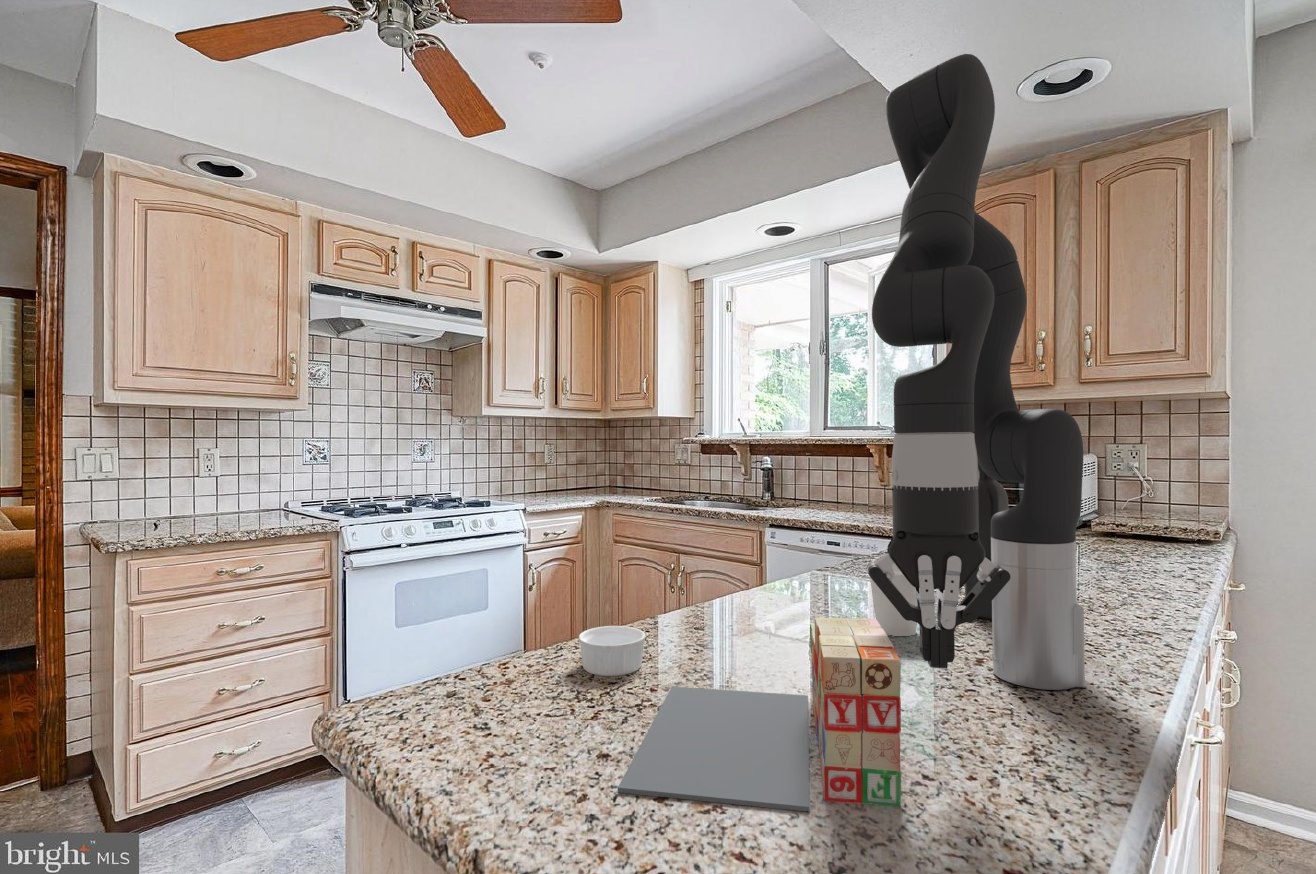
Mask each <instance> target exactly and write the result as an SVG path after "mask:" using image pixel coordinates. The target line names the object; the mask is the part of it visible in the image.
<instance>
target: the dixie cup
mask: <svg viewBox="0 0 1316 874" xmlns="http://www.w3.org/2000/svg"><path fill="white" fill-rule="evenodd" d="M892 569H893V571H894V573H895V577H894V579H893V580H892V581H891V582H892V583H893V584H894V585H895V586H896V588H897V589H898V590H899V591H900V593H901V594H902V595H903V596H904V598H905V599H906V600H907V601H908V602H909V604H912V605H915V606H917V601H916V595H915V587H914V586H912V585H911V584H910V583H909V582H908V580H907V579H906V578H905V576H904V575H903V574H902V572H901V571H900V570H899V569H898V567H897V566H896V565H895V563H894V564H893V566H892ZM869 580H870V587H871V596H872V603H873V609H874V610H873V612H874V619H877V621H878V622H879V624H880V626H881V628H883V630H884V631H885V633H886V634H887V636H888V635H893V636H892V637H894V636H910V637H912V636H911V635H914V636H915V635H916V634H917V628H918V627H917V626H918V623H916V622H914V621H907V620H905V619H904V618H903V617H902V616H901V614H900V613H899V612H898V611H897V609H896V608H895V607H894V606H893V604H892V603H891V602H890V601H889V600H888V598H887V597H886V596H885V595H884V593H883V592H882V591H881V590H880V588H879V587H878V586H877V585H876V583H875V582H874V581H873V580H872V579H871V577H870V576H869Z"/></svg>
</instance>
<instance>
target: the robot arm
mask: <svg viewBox="0 0 1316 874" xmlns="http://www.w3.org/2000/svg"><path fill="white" fill-rule="evenodd" d="M995 103H996V102H995V94H994V90H993V85H992V82H991V80H990V76H989V74H988V72H987V70H986V67H985V66H984V64H983V63H982V61H981V60H980V59H979V58H978V57H977V56H975V55H974V54H971V53H963V54H959V55H956V56H955V57H951V58H949V59H947V60H945V61H943V62H941V63H939V64H937V65H935V66H933V67H931V68H930V69H928V70H925V71H923V72H922V73H919V74H918V75H916V76H914V77H912V78H911V79H909V80H906V81H904V82H903V83H901V84H899V85H898V86H896V87H894V88H893V89H892V90H891V91H890V92H889V93H888V95H887V97H886V101H885V112H886V120H887V124H888V125H887V126H888V129H889V132H890V135H891V140H892V142H893V145H894V148H895V151H896V154H897V158H898V159H899V163H900V166H901V168H902V171H903V174H904V176H905V179H906V183H907V186H908V188H909V191H908V193H907V194H906V197H905V199H904V200H905V201H904V203H903V208H902V212H901V219H900V229H899V239H898V245H897V248H896V249H895V252H894V254H893V256H892V258H891V260H890V262H889V264H888V266H887V267H886V269H885V270H884V273H883V274H882V276H881V278H880V281H879V283H878V285H877V288H876V291H875V292H874V297H873V301H872V307H871V319H872V321H871V322H872V325H873V328H874V330H875V333H876V334H877V336H878V337H879V338H880V340H881V341H883V342H884V343H885V344H887V345H888V346H891V347H898V348H905V347H919V346H933V345H945V344H951V346H950V349H949V352H948V353H947V355H946V356H945V357H944V358H943V360H941V361H940V362H938V363H936V364H934V365H930V366H927V367H923V368H920V369H915V370H912V371H908V372H906V373H903V374H900V375H899V376H898V377H897V378H896V380H895V382H894V387H893V432H894V435H893V445H892V452H891V493H892V494H891V495H892V497H891V499H892V501H891V503H892V504H891V505H892V506H891V507H892V536H891V540H890V541H889V542H888V545H887V548H886V549H887V553H886V554H885V555H883V556H882V557H880V558H879V559H878V560H876V561H874V562H873V561H872V562H869V563H867V566H866V571H867V574H868V575H869V578H870V577H871V579H872V580H873V581H874V582H875V583H876V585H877V586H878V587H879V588H880V590H881V591H882V592H883V593H884V595H885V596H886V597H887V598H888V600H889V601H890V602H891V603H892V604H893V606H894V607H895V608H896V609H897V611H898V612H899V613H900V614H901V616H902V617H903V618H904V619H905V620H907V621H914V622H916V623H917V625H919V653H920V654H921V657H922V659H923V661H925V662H927V664H928V665H929V668H930V669H931V668H932V669H948V665H949V664H948V663H954V659H955V657H956V654H955V653H956V652H955V649H956V648H955V630H956V628H957V627H958V626H959V625H963V624H966V623H967V624H973V623H974V622H975V621H976V620H977V619H979V618H978V616H979V615H980V614H981V613H982V612H983V611H984V609H985V608H986V607H987V606H988V605H989V604H990V602H991V601H992V620H991V623H992V627H991V628H992V653H991V655H992V656H991V657H992V672H993V674H994V675H995V676H996V677H997V678H1000V680H1003V681H1005V682H1008V683H1011V684H1014V685H1018V686H1020V687H1021V686H1022V687H1026V688H1031V689H1039V690H1051V691H1053V690H1056V691H1058V690H1069V689H1073V688H1085V687H1086V672H1085V671H1086V669H1085V668H1086V667H1085V666H1086V665H1085V619H1084V618H1085V617H1084V616H1085V613H1084V607H1083V606H1082V605H1081V604H1079V603H1078V601H1077V600H1078V599H1077V598H1078V597H1077V596H1078V594H1077V593H1078V592H1077V591H1078V590H1077V545H1076V544H1077V541H1076V540H1077V539H1076V538H1077V536H1076V534H1077V532H1076V531H1077V526H1078V523H1079V520H1080V517H1081V512H1082V498H1083V497H1082V495H1083V491H1082V490H1083V475H1084V474H1083V473H1084V472H1083V471H1084V443H1083V442H1084V441H1083V436H1082V432H1081V429H1080V426H1079V424H1078V422H1077V420H1076V419H1075V417H1073V416H1072V415H1071V413H1069V412H1068V411H1065V410H1062V409H1060V408H1039V409H1019V408H1018V405H1017V403H1016V399H1015V395H1014V390H1013V385H1012V379H1011V378H1012V377H1011V363H1012V358H1013V355H1014V350H1015V347H1016V345H1017V342H1018V338H1019V335H1020V332H1021V330H1022V326H1023V323H1024V319H1025V315H1026V311H1027V310H1026V309H1027V302H1028V301H1027V300H1028V299H1027V292H1026V286H1025V282H1024V279H1023V275H1022V272H1021V271H1022V270H1021V267H1020V264H1019V260H1018V255H1017V252H1016V249H1015V246H1014V245H1013V243H1012V242H1011V240H1009V238H1008V237H1007V236H1006V235H1005V234H1004V233H1003V232H1002V231H1001V230H999V229H998V228H997V227H996V226H995V225H993V224H992V223H991V222H990V221H989V220H987V219H986V218H984V217H983V216H982V215H981V214H979V213H978V212H977V211H976V207H975V206H976V205H975V204H976V195H977V188H978V184H979V179H980V176H981V172H982V169H983V165H984V162H985V158H986V154H987V151H988V146H989V144H990V143H989V142H990V138H991V136H992V131H993V128H994V127H993V126H994V122H995V113H996V104H995ZM978 463H979V465H980V466H981V468H982V470H983V471H984V472H985V473H986V474H987V475H988V476H989V477H990V478H992V479H994V480H996V481H997V482H1002V483H1012V484H1015V483H1016V484H1023V490H1022V497H1021V499H1020V501H1019V502H1018V503H1017V504H1016V505H1014V506H1013V507H1011V508H1008V510H1005V511H1001V512H998V513H996V514H994V515H993V516H992V518H991V561H990V560H988V559H987V558H986V557H985V549H984V547H983V546H982V544H981V542H980V539H979V499H978V481H979V470H978ZM894 563H895V565H896V566H897V567H898V569H899V570H900V571H901V572H902V574H903V575H904V576H905V578H906V579H907V580H908V582H909V583H910V584H911V585H912V586H914V587H915V595H916V601H917V606H915V605H912V604H909V602H908V601H907V600H906V599H905V598H904V596H903V595H902V594H901V593H900V591H899V590H898V589H897V588H896V586H895V585H894V584H893V583H892V582H891V581H892V580H893V579H894V577H895V573H894V571H893V569H892V566H893V564H894ZM978 567H979V571H978V573H977V578H978V580H979V581H978V583H977V584H976V585H975V586H974V587H973V588H972V590H971V591H970V592H969V593H968V594H967V596H966V597H965V596H964V598H963V599H962V600H961V601H960V603H959V597H960V596H959V595H960V594H959V593H960V589H962V588H963V587H965V584H966V582H967V581H968V580H969V578H970V577H971V576H972V575H973V573H974V572H975V571H976V569H977V568H978ZM935 590H936V595H937V596H936V597H937V598H935ZM936 599H937V604H936V610H935V602H936ZM958 603H959V604H958Z"/></svg>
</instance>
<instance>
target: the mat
mask: <svg viewBox="0 0 1316 874" xmlns="http://www.w3.org/2000/svg"><path fill="white" fill-rule="evenodd" d="M809 744H810V743H809V695H807V694H793V693H792V694H791V693H778V692H777V693H775V692H759V691H744V690H731V689H729V690H728V689H718V688H717V689H715V688H699V687H689V686H687V687H685V686H671V688H670V689H669V691H668V693H667V695H666V697H665V699H664V700H663V701H662V704H661V706H660V708H659V709H658V712H657V714H656V716H655V717H654V719H653V721H652V723H651V724H650V727H649V729H648V730H647V732H646V735H645V736H644V738H643V740H642V741H641V743H640V745H639V747H638V749H637V751H636V753H635V755H634V756H633V758H632V760H631V761H630V764H629V766H628V768H627V769H626V772H625V773H624V775H623V777H622V778H621V781H620V782H619V785H618V786H617V793H622V794H632V795H640V796H642V795H643V796H651V797H661V798H671V799H678V800H679V799H683V800H689V801H698V802H699V801H701V802H710V803H719V804H720V803H721V804H729V805H730V804H731V805H739V806H747V805H748V806H749V807H759V808H769V809H777V810H788V811H789V810H790V811H798V812H806V811H808V812H807V813H810V763H809V762H810V758H809V757H810V756H809V755H810V754H809V752H810V751H809V750H810V749H809ZM751 805H752V806H751ZM748 806H747V807H748Z"/></svg>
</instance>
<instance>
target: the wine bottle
mask: <svg viewBox="0 0 1316 874" xmlns="http://www.w3.org/2000/svg"><path fill="white" fill-rule="evenodd" d="M978 470H979V481H978V499H979V539H980V542H981V544H982V546H983V547H984V549H985V557H986V558H987V559H988V560H990V561H991V518H992V516H993V515H994V514H996V513H998V512H1001V511H1005V510H1008V509H1009V498H1008V494H1007V491H1006V490H1005V488H1004V486H1003V485H1002V484H1001V483H1000V482H999V481H997V480H994V479H992V478H990V477H989V476H988V475H987V474H986V473H985V472H984V471H983V470H982V468H981V466H980V465H979V463H978ZM978 571H979V567H978V568H977V569H976V571H975V572H974V573H973V575H972V576H971V577H970V578H969V580H968V581H967V582H966V584H965V585H964V598H965V597H966V596H967V594H968V593H969V592H970V591H971V590H972V588H973V587H974V586H975V585H976V584H977V583H978V581H979V580H978V578H977V573H978ZM977 619H983V620H986V621H987V620H988V621H992V601H991V602H990V604H989V605H988V606H987V607H986V608H985V609H984V611H983V612H982V613H981V614H980V615H979V616H978V618H977Z"/></svg>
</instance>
